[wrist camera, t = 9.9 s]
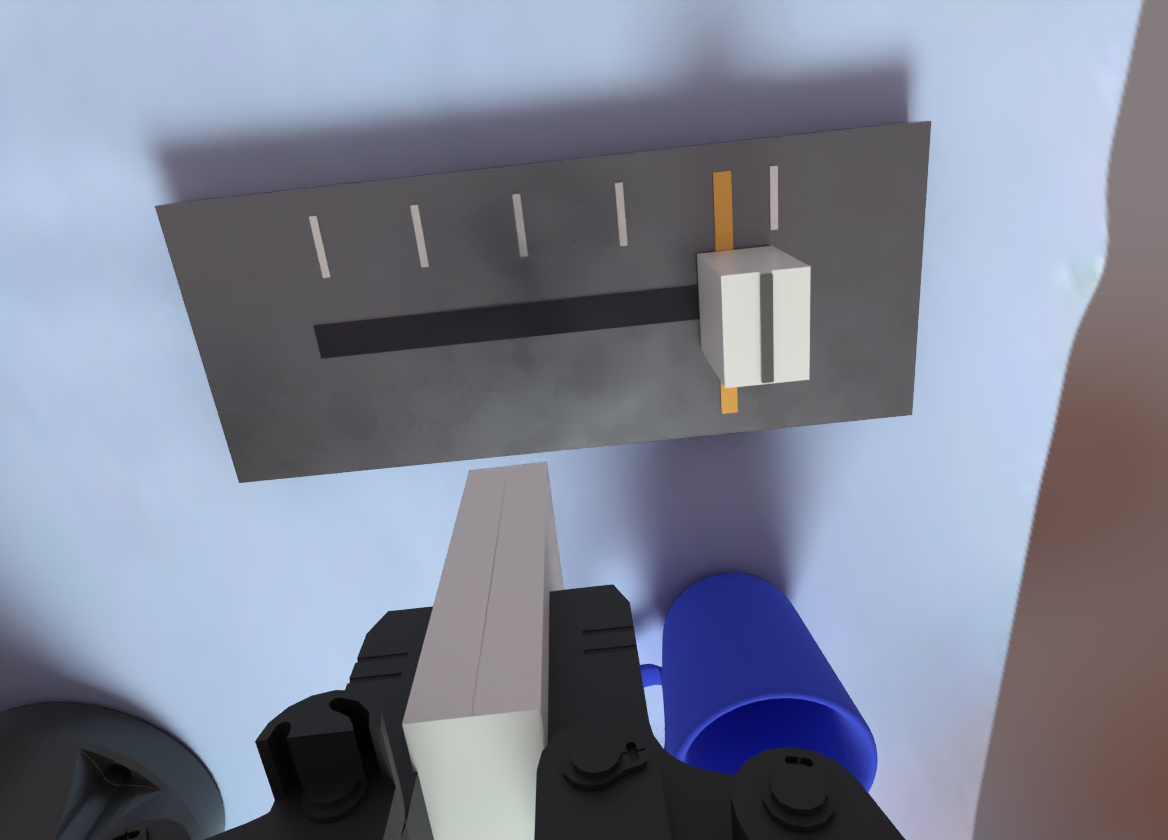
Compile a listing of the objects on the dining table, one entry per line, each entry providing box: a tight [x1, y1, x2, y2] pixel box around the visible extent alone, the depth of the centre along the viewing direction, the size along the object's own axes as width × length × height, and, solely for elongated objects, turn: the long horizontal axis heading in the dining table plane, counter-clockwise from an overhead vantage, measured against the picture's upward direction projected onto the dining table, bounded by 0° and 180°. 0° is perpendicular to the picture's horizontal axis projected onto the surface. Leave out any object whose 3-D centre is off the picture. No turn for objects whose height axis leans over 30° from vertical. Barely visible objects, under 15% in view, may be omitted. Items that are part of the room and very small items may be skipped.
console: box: [155, 121, 931, 483], centre depth 31 cm, size 30×12×2 cm, turn 96°
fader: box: [697, 246, 811, 388], centre depth 27 cm, size 3×4×5 cm
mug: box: [640, 573, 877, 792], centre depth 34 cm, size 8×12×10 cm
